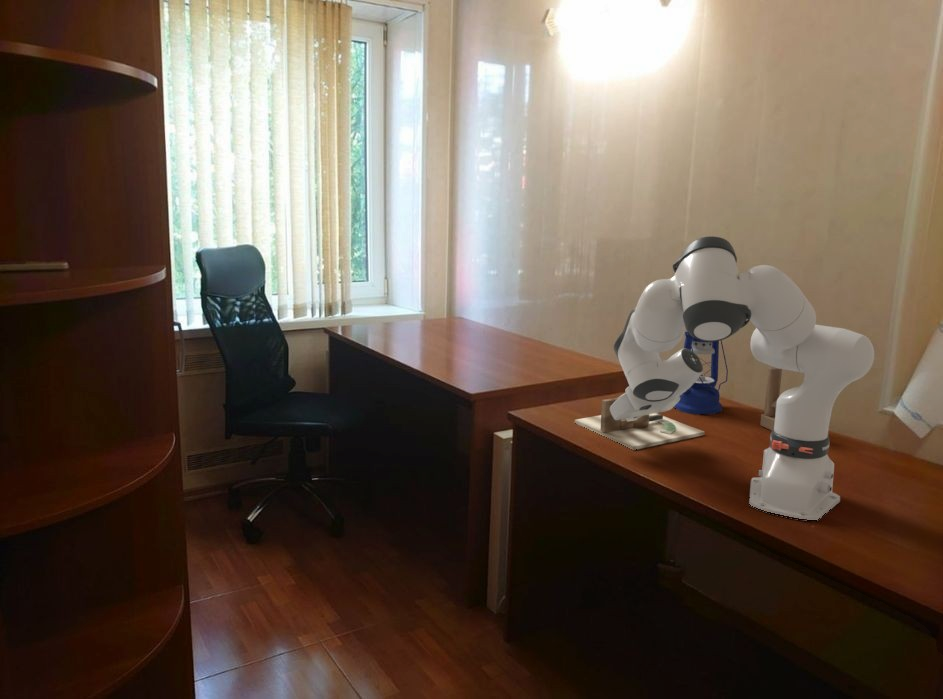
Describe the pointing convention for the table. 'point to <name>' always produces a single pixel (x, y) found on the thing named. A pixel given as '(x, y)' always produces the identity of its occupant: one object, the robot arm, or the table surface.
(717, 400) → the lantern
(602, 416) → the brown wooden long piece
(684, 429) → the tuner board
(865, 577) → the table surface
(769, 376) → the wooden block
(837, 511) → the table surface
